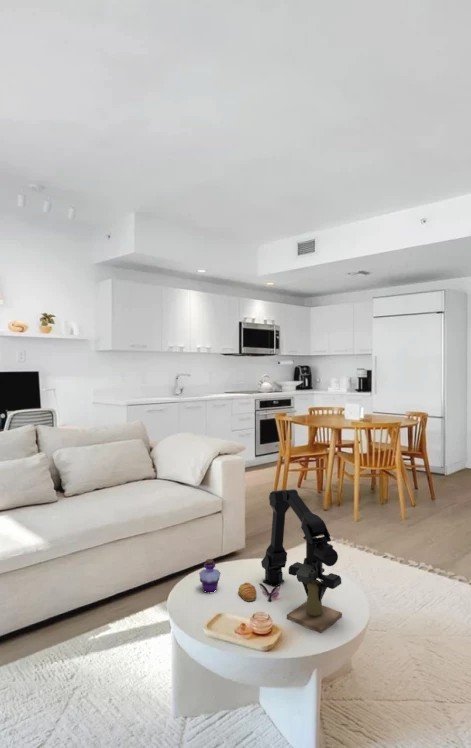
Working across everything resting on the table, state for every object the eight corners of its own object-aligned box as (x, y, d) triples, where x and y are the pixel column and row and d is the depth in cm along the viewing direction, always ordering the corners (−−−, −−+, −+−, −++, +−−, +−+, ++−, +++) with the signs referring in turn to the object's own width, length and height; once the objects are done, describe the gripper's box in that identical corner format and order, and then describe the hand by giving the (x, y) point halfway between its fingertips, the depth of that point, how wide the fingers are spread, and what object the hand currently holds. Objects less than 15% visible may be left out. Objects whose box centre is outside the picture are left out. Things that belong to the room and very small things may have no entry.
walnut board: (286, 618, 177) (286, 614, 177) (308, 604, 187) (308, 600, 187) (320, 633, 168) (320, 628, 168) (341, 616, 178) (341, 612, 178)
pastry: (260, 601, 190) (259, 591, 190) (242, 603, 188) (242, 593, 188) (253, 590, 199) (253, 580, 199) (236, 592, 197) (236, 582, 197)
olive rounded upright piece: (314, 605, 182) (314, 575, 181) (326, 612, 177) (326, 581, 176) (301, 610, 178) (302, 579, 178) (313, 617, 173) (313, 586, 173)
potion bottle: (200, 584, 204) (200, 555, 203) (221, 585, 203) (221, 555, 203) (197, 594, 195) (197, 564, 195) (220, 595, 195) (219, 564, 194)
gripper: (279, 555, 177) (279, 598, 177) (325, 570, 164) (325, 616, 165) (297, 546, 185) (297, 587, 186) (342, 559, 173) (342, 603, 173)
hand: (314, 598), depth 177 cm, fingers closed on olive rounded upright piece, 4 cm apart
